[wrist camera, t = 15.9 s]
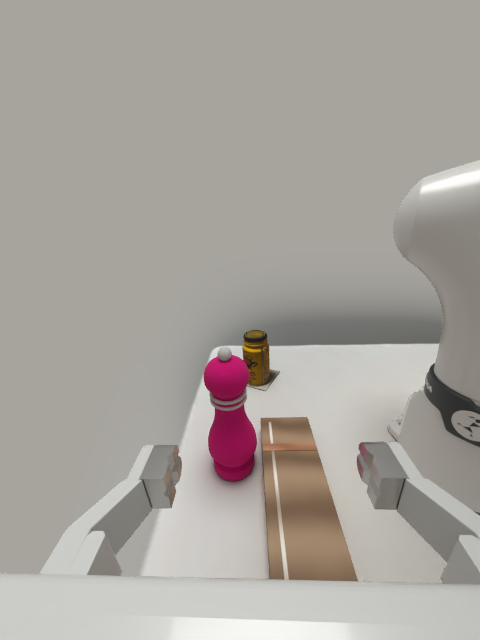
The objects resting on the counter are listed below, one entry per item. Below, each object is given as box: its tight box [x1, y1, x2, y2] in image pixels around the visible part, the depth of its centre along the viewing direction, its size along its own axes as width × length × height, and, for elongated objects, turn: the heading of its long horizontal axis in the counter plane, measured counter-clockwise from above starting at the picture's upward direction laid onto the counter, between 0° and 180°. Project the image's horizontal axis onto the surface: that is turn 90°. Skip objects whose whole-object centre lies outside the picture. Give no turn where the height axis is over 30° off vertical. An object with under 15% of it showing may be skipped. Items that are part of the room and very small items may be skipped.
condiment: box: [243, 330, 280, 391], centre depth 56 cm, size 7×8×12 cm
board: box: [261, 417, 358, 581], centre depth 29 cm, size 28×8×3 cm, turn 178°
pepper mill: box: [204, 347, 257, 481], centre depth 34 cm, size 7×7×20 cm
